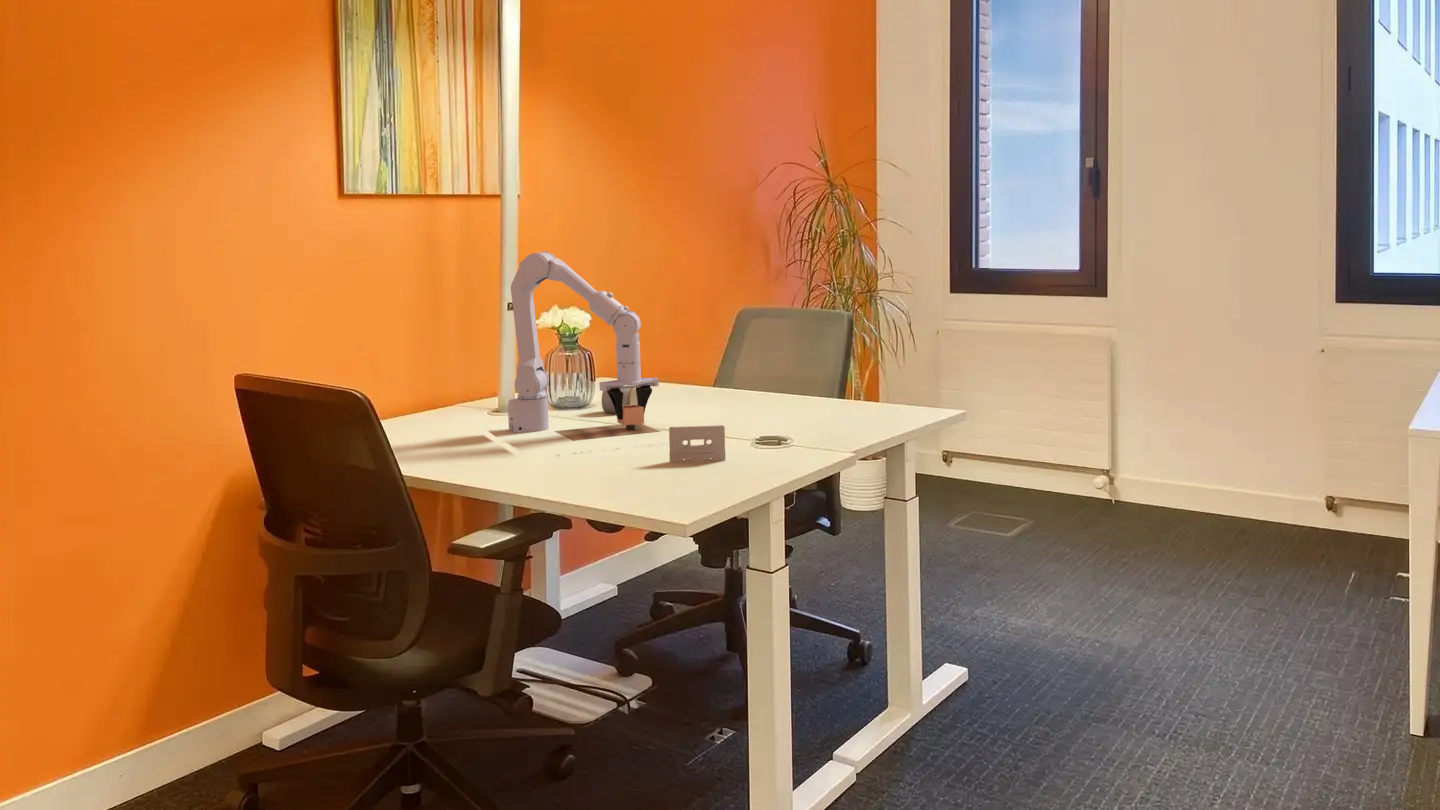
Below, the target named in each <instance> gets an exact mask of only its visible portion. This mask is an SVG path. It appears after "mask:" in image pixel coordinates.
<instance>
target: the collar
mask: <svg viewBox="0 0 1440 810" xmlns="http://www.w3.org/2000/svg"><path fill="white" fill-rule="evenodd" d="M622 410H623V415H622V419H621V420H620V419H617V418H616V421H617V422H616V423H618V424H619V425H621V424H623V425H634V424H644V425H645V412H644V407H642V406H639V405H637V404H634V405H623V406H622Z"/></svg>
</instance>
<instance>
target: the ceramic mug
mask: <svg viewBox="0 0 1440 810" xmlns="http://www.w3.org/2000/svg"><path fill="white" fill-rule="evenodd" d="M620 390H621V392H623V401H622V406H623V405H634V404H637V405H638V401H637V394H636V388H627V389H620ZM601 406H602V410H603V411H604V413H607V414H616V411H615V408H614V405H613V403H612V401H611V399H610V397H609V395H608V393H607V390H606V391H602V393H601Z"/></svg>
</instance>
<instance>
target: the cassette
mask: <svg viewBox="0 0 1440 810" xmlns="http://www.w3.org/2000/svg"><path fill="white" fill-rule="evenodd" d="M725 430H726V429H725V426H724V425H723V424H722V425H721V424H719V425H693V426H692V425H689V426H669V428H668V434H669V435H668V438H669V440H668V441H669V462H670V463H702V462H703V463H704V462H705V463H706V462H707V463H708V462H722V461H726V441H725V440H726V437H725V432H726V431H725ZM694 440H695V441H696V440H703V444H691V441H694ZM709 440H710V441H711V443H707V442H708V441H709ZM684 441H687V444H684Z"/></svg>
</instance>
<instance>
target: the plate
mask: <svg viewBox="0 0 1440 810" xmlns="http://www.w3.org/2000/svg"><path fill="white" fill-rule="evenodd" d="M554 432H555V433H557V434H559V435H561V436H562V437H565V438H567V439H569V440H571V441H572V442H574V441H582V440H593V439H594V440H595V439H601V438H602V439H603V438H613V437H621V436H622V437H623V436H632V435H642V434H651V433H661V432H662V431H661V430H658V429H655V428H654V427H652V426H649V425H646V424H645V423H644V424H634V425H623V424H612V425H602V426H593V427H583V428H572V429H563V430H555V431H554Z"/></svg>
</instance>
